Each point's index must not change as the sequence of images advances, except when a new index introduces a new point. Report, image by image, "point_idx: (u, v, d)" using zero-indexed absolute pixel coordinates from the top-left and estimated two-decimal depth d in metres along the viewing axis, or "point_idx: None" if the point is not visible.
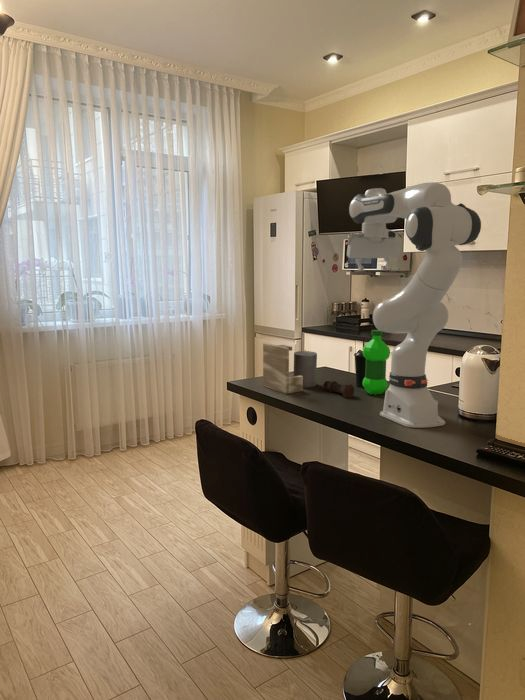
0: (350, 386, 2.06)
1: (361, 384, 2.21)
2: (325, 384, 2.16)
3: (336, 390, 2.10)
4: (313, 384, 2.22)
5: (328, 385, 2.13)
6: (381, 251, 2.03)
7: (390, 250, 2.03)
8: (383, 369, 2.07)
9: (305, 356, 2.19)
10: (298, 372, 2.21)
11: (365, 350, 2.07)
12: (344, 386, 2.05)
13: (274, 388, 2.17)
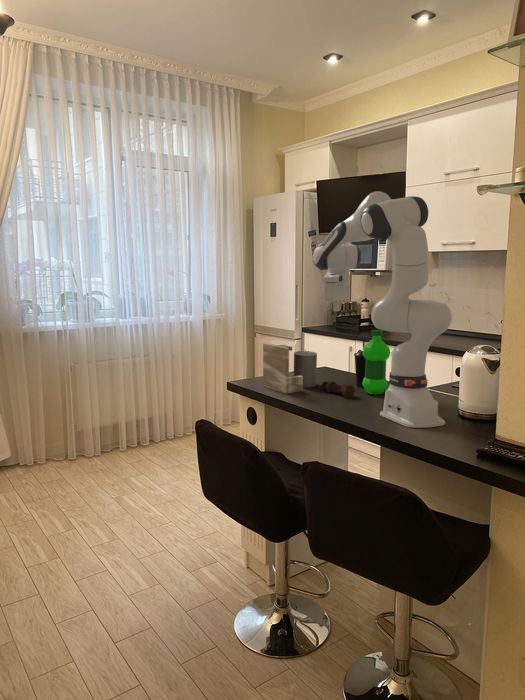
0: (351, 386, 2.05)
1: (361, 384, 2.21)
2: (323, 385, 2.15)
3: (336, 390, 2.10)
4: (313, 384, 2.22)
5: (327, 386, 2.13)
6: None
7: None
8: (383, 369, 2.07)
9: (305, 356, 2.19)
10: (298, 372, 2.21)
11: (365, 350, 2.07)
12: (345, 386, 2.05)
13: (274, 388, 2.17)
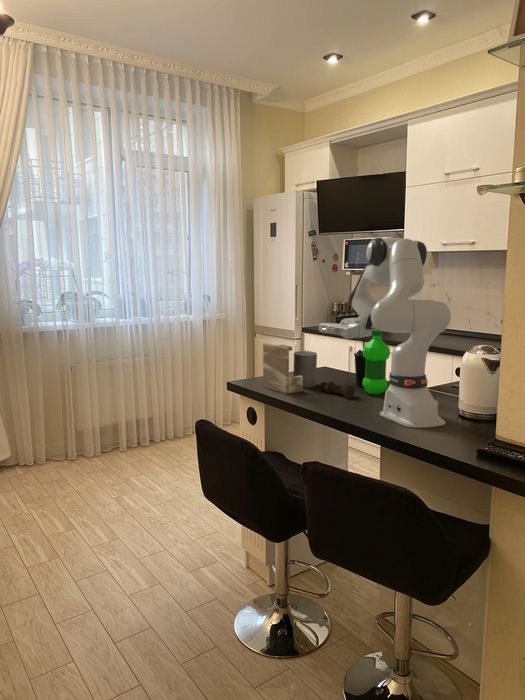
0: (351, 386, 2.05)
1: (361, 384, 2.21)
2: (322, 385, 2.14)
3: (335, 391, 2.09)
4: (313, 384, 2.22)
5: (326, 386, 2.12)
6: (341, 326, 2.28)
7: (347, 326, 2.26)
8: (383, 369, 2.07)
9: (305, 356, 2.19)
10: (298, 372, 2.21)
11: (365, 350, 2.07)
12: (346, 386, 2.04)
13: (274, 388, 2.17)
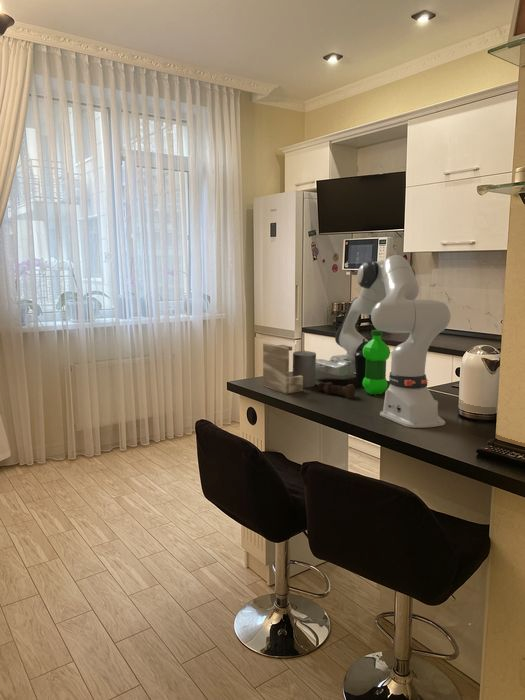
0: (352, 386, 2.05)
1: (361, 384, 2.21)
2: (320, 386, 2.13)
3: (336, 391, 2.08)
4: (312, 384, 2.22)
5: (325, 387, 2.10)
6: (330, 364, 2.28)
7: (336, 365, 2.25)
8: (383, 369, 2.07)
9: (304, 356, 2.18)
10: (298, 372, 2.21)
11: (365, 350, 2.07)
12: (347, 387, 2.04)
13: (274, 388, 2.17)
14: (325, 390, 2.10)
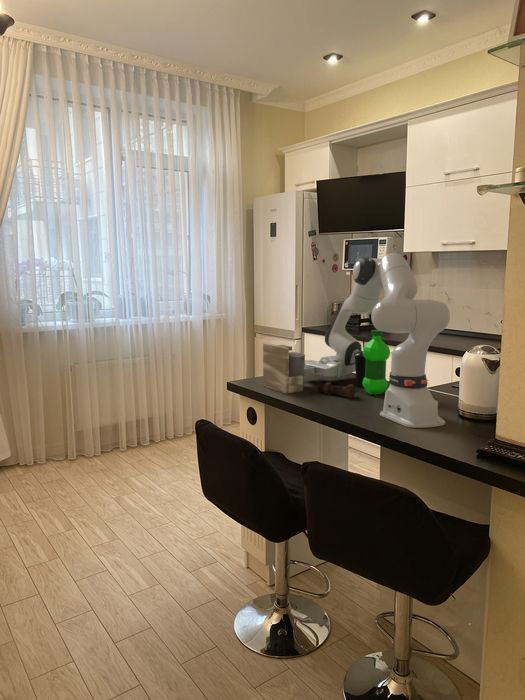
0: (352, 386, 2.05)
1: (361, 384, 2.21)
2: (320, 387, 2.12)
3: (336, 392, 2.08)
4: None
5: (325, 387, 2.09)
6: (319, 365, 2.25)
7: (326, 366, 2.22)
8: (383, 369, 2.07)
9: (293, 357, 2.15)
10: None
11: (365, 350, 2.07)
12: (348, 387, 2.03)
13: (274, 388, 2.17)
14: (325, 390, 2.10)
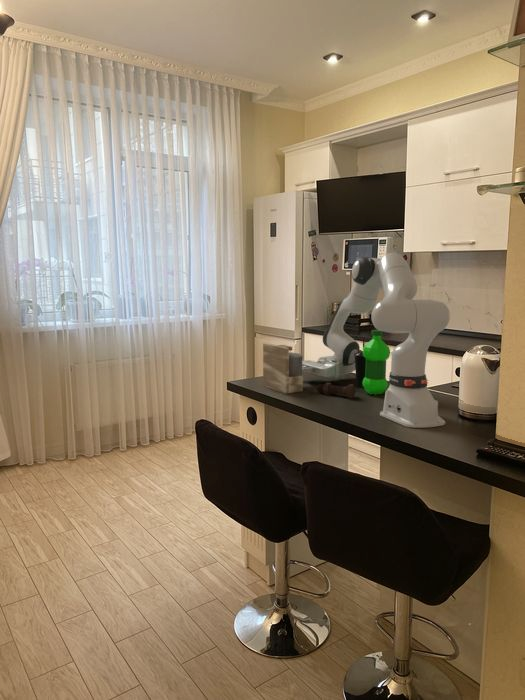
0: (353, 386, 2.05)
1: (361, 384, 2.21)
2: (319, 387, 2.11)
3: (336, 392, 2.07)
4: None
5: (325, 388, 2.09)
6: (317, 365, 2.24)
7: (324, 366, 2.22)
8: (383, 369, 2.07)
9: (290, 358, 2.15)
10: None
11: (365, 350, 2.07)
12: (349, 387, 2.03)
13: (274, 388, 2.17)
14: (325, 391, 2.09)
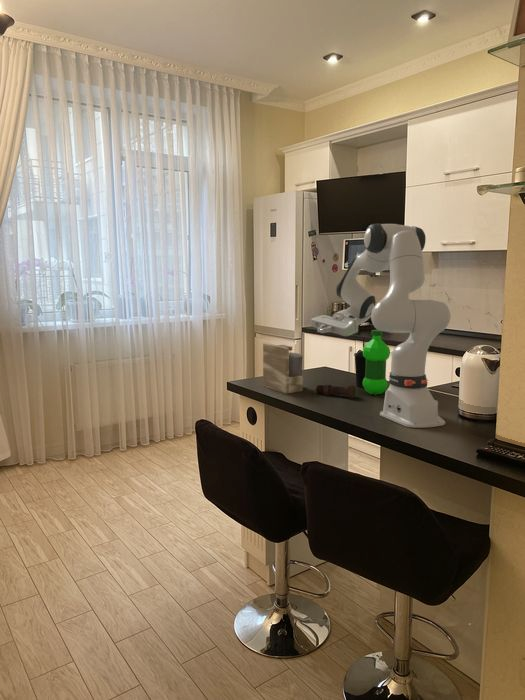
0: (354, 387, 2.05)
1: (361, 384, 2.21)
2: (319, 388, 2.10)
3: (337, 393, 2.06)
4: None
5: (325, 389, 2.08)
6: (336, 323, 2.23)
7: (343, 324, 2.21)
8: (383, 369, 2.07)
9: (290, 358, 2.15)
10: None
11: (365, 350, 2.07)
12: (350, 387, 2.03)
13: (274, 388, 2.17)
14: (325, 392, 2.08)
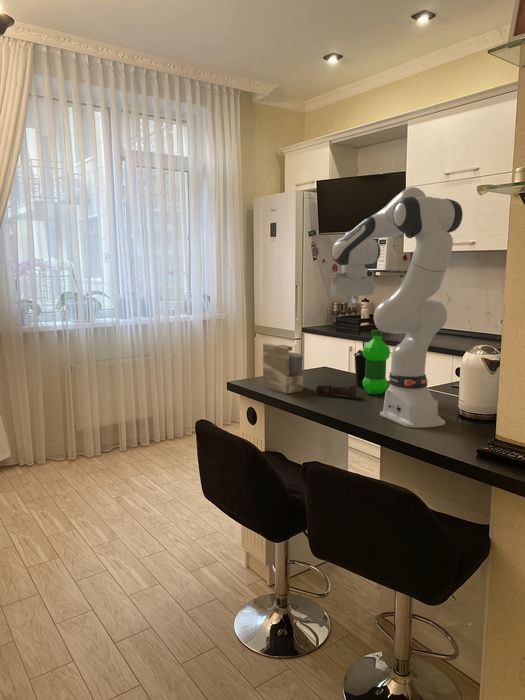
0: (355, 386, 2.05)
1: (361, 384, 2.21)
2: (319, 389, 2.08)
3: (337, 393, 2.06)
4: None
5: (326, 389, 2.06)
6: (360, 289, 2.14)
7: (367, 287, 2.16)
8: (383, 369, 2.07)
9: (290, 358, 2.15)
10: None
11: (365, 350, 2.07)
12: (351, 387, 2.03)
13: (274, 388, 2.17)
14: (326, 392, 2.07)
